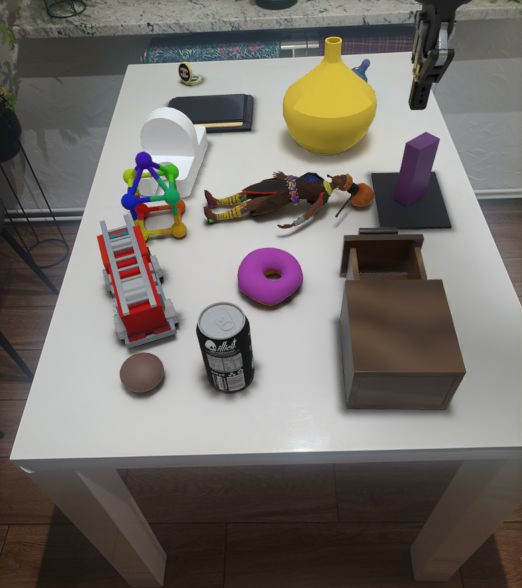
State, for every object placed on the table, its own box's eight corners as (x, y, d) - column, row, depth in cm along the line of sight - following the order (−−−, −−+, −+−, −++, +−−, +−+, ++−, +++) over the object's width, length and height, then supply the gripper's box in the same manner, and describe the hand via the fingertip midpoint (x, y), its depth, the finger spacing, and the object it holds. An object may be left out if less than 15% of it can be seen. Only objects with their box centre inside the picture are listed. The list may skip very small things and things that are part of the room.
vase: (363, 116, 104) (376, 16, 89) (378, 164, 94) (395, 60, 78) (280, 121, 105) (279, 22, 89) (285, 170, 94) (284, 67, 78)
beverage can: (232, 347, 69) (223, 290, 59) (264, 373, 66) (260, 318, 56) (198, 374, 66) (182, 320, 57) (229, 403, 63) (218, 350, 54)
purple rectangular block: (412, 188, 88) (426, 131, 79) (424, 195, 86) (440, 138, 77) (393, 199, 86) (405, 142, 77) (406, 207, 85) (419, 150, 76)
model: (118, 245, 82) (113, 163, 71) (126, 211, 88) (123, 132, 77) (184, 252, 83) (190, 173, 73) (187, 219, 90) (193, 142, 79)
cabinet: (339, 321, 71) (345, 280, 64) (426, 321, 70) (442, 279, 63) (346, 408, 62) (354, 372, 55) (446, 409, 61) (466, 372, 54)
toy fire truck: (157, 258, 81) (142, 210, 73) (185, 339, 70) (171, 293, 62) (105, 273, 79) (84, 225, 71) (125, 358, 69) (103, 313, 60)
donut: (267, 319, 72) (265, 299, 68) (225, 284, 76) (221, 263, 73) (315, 285, 75) (316, 264, 72) (272, 253, 80) (271, 232, 76)
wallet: (254, 89, 110) (251, 124, 101) (254, 97, 112) (251, 132, 103) (169, 92, 111) (158, 127, 102) (170, 100, 113) (160, 135, 104)
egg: (120, 398, 65) (111, 383, 61) (127, 363, 68) (119, 346, 65) (164, 397, 64) (157, 381, 61) (169, 361, 68) (163, 345, 65)
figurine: (203, 170, 88) (366, 137, 84) (215, 206, 95) (366, 177, 91) (200, 224, 79) (382, 191, 75) (214, 260, 86) (382, 230, 82)
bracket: (188, 197, 90) (177, 141, 81) (138, 195, 91) (121, 139, 82) (209, 142, 101) (201, 87, 92) (163, 141, 102) (150, 86, 93)
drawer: (338, 250, 78) (341, 216, 73) (409, 249, 78) (418, 215, 72) (345, 335, 68) (350, 303, 62) (428, 335, 67) (440, 303, 62)
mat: (434, 173, 91) (434, 171, 91) (451, 228, 82) (451, 226, 81) (371, 175, 92) (371, 172, 91) (380, 229, 82) (381, 227, 82)
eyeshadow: (205, 79, 118) (202, 58, 114) (191, 87, 116) (188, 66, 112) (192, 75, 120) (189, 53, 116) (178, 83, 118) (175, 61, 114)
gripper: (408, -74, 54) (382, 84, 68) (428, -35, 46) (394, 134, 60) (475, -77, 53) (436, 83, 67) (507, -38, 46) (454, 133, 60)
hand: (416, 107), depth 64 cm, fingers closed
